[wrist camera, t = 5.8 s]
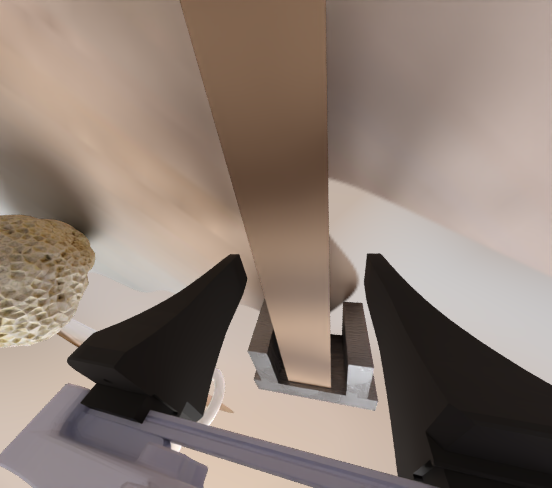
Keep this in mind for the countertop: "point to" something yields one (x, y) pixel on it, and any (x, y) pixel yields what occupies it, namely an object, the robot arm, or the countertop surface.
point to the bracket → (344, 362)
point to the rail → (276, 156)
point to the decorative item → (39, 277)
